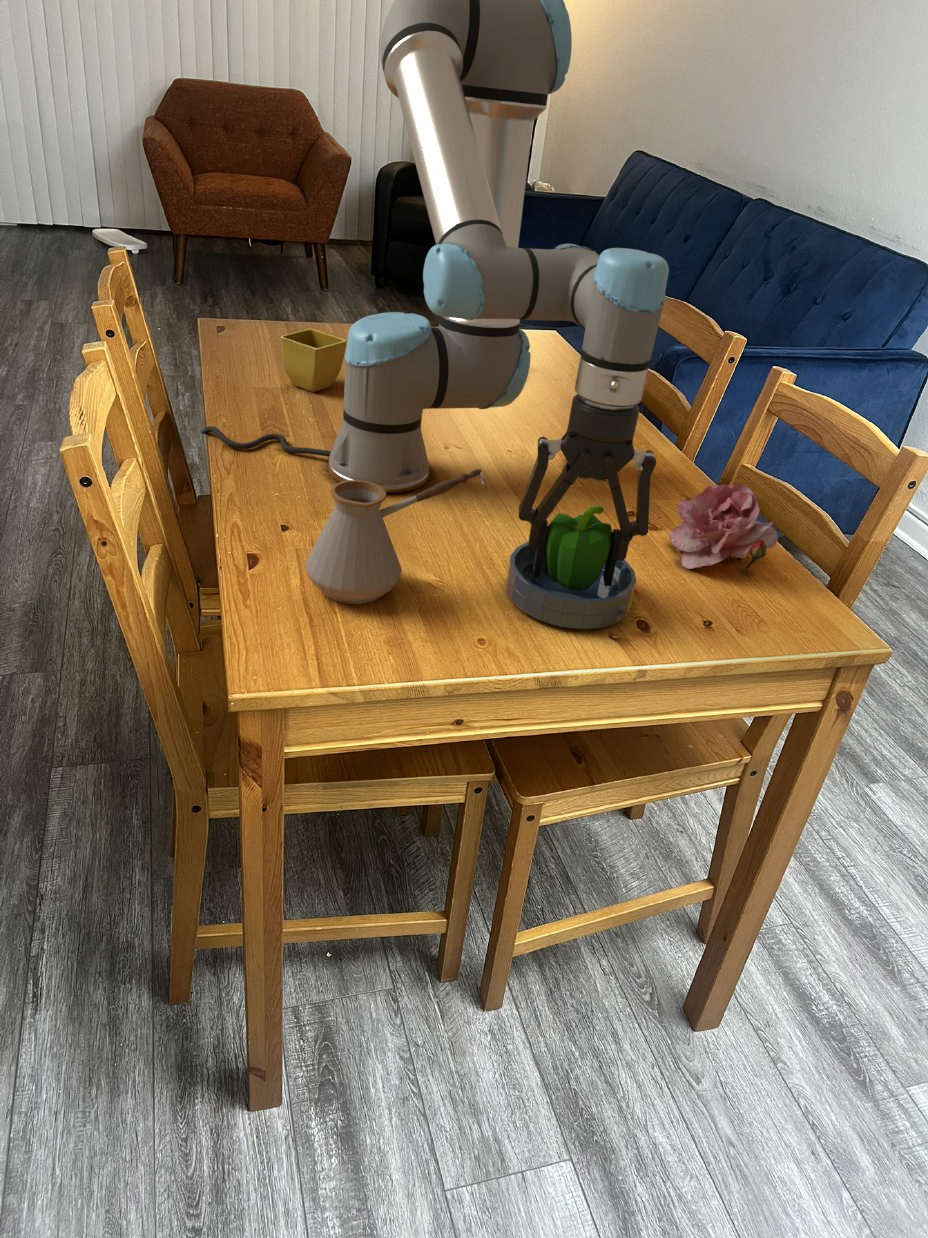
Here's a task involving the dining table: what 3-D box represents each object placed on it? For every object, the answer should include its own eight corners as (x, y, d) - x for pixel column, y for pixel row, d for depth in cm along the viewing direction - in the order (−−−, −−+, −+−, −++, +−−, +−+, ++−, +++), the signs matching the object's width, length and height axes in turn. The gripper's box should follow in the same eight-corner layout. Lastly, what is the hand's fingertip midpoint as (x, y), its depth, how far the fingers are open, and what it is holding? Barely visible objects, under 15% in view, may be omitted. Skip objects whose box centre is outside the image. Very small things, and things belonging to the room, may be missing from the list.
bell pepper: (548, 599, 113) (562, 524, 107) (530, 565, 119) (542, 493, 114) (614, 598, 115) (631, 524, 109) (592, 565, 121) (607, 494, 116)
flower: (698, 504, 141) (713, 452, 133) (785, 552, 135) (806, 501, 127) (641, 556, 134) (654, 505, 126) (731, 610, 127) (750, 559, 120)
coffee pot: (316, 617, 108) (321, 498, 100) (295, 568, 117) (298, 455, 109) (487, 600, 116) (504, 489, 108) (455, 555, 125) (469, 449, 117)
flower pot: (345, 387, 175) (348, 339, 171) (315, 398, 169) (317, 348, 164) (309, 375, 179) (310, 327, 174) (278, 385, 172) (278, 336, 168)
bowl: (504, 623, 112) (509, 591, 109) (506, 561, 125) (511, 531, 123) (634, 640, 112) (642, 608, 110) (622, 576, 125) (629, 546, 123)
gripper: (513, 397, 101) (486, 580, 113) (705, 422, 102) (658, 602, 114) (514, 376, 108) (488, 551, 120) (695, 400, 108) (651, 572, 120)
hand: (571, 576), depth 117 cm, fingers closed on bell pepper, 8 cm apart
